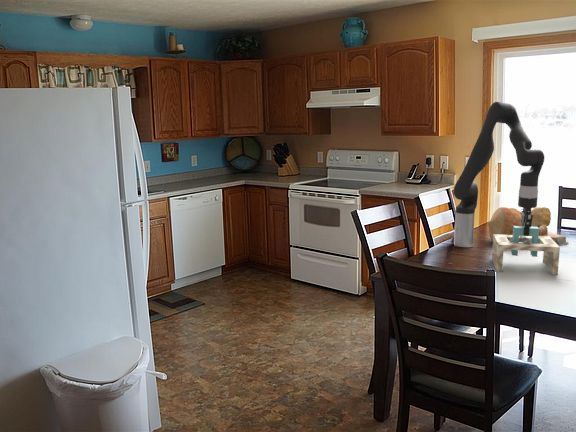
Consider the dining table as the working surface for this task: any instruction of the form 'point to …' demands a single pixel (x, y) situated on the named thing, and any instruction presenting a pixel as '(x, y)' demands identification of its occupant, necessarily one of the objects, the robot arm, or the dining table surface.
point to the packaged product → (558, 238)
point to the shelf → (545, 245)
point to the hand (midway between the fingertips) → (525, 234)
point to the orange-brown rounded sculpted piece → (508, 223)
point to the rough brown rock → (539, 216)
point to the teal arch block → (520, 231)
